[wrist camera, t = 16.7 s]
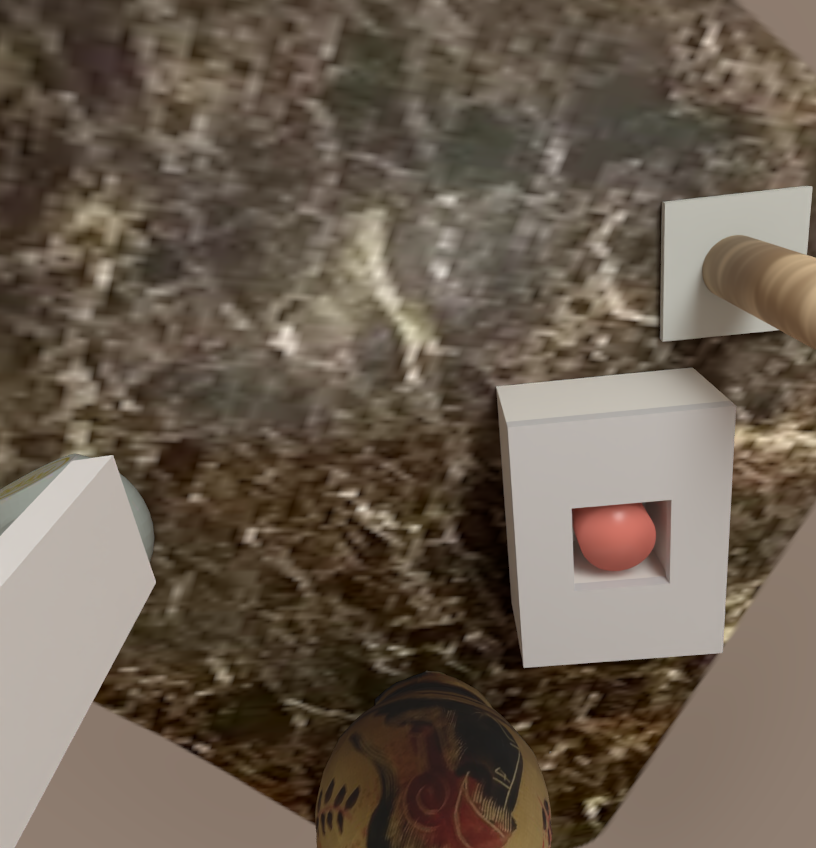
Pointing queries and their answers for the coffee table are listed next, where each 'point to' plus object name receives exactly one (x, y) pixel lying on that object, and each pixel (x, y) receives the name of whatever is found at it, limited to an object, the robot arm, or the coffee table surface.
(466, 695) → the ceramic jug
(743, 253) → the tan wooden rod
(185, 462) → the coffee table surface
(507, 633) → the coffee table surface
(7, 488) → the air freshener
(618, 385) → the box
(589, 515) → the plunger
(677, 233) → the pad
